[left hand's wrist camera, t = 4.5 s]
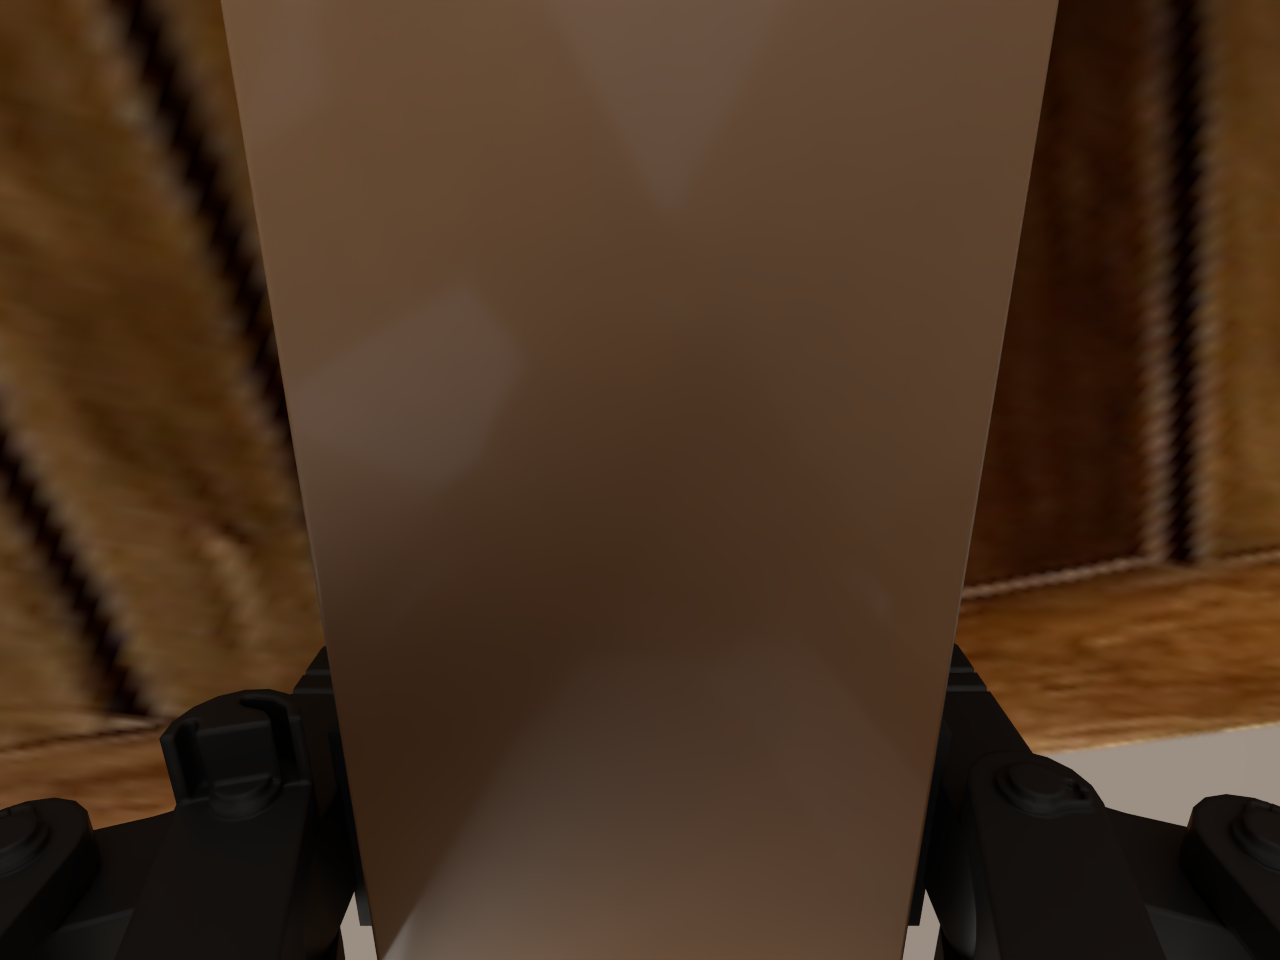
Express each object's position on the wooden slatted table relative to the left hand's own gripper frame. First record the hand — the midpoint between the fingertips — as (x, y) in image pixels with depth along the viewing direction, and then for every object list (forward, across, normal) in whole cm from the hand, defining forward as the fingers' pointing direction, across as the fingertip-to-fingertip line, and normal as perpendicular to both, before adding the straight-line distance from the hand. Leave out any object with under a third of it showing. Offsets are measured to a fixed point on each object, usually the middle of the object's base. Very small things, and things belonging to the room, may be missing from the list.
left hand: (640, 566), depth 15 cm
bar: (+1, 0, -13) cm, 13 cm away
